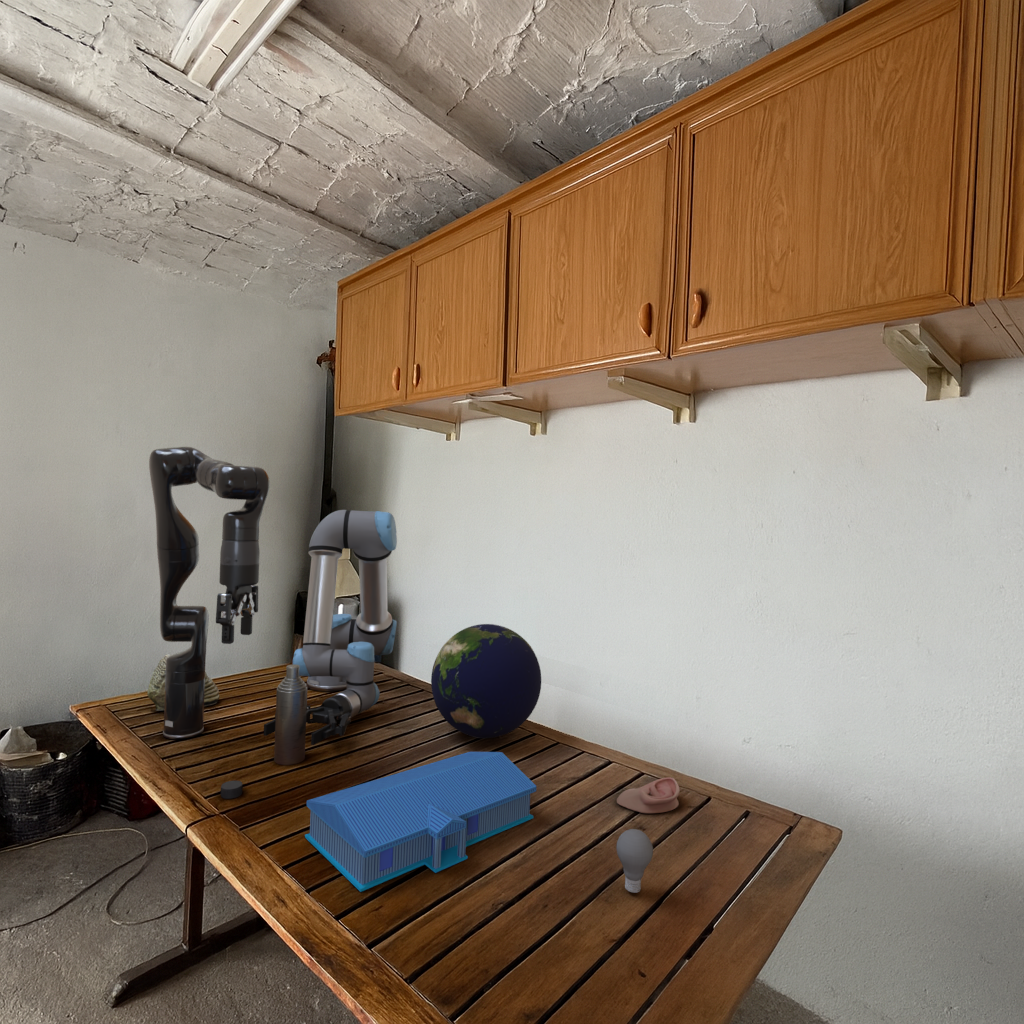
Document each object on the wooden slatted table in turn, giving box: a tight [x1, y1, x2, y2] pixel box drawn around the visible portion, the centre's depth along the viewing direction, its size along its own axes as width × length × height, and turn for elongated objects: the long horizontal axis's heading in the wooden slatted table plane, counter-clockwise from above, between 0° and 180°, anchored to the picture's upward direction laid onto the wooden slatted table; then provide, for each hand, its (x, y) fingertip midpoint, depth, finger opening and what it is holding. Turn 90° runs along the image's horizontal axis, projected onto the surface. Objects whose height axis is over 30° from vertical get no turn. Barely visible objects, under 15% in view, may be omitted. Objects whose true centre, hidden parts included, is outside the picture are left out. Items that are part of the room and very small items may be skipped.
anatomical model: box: [616, 776, 681, 814], centre depth 138 cm, size 13×4×12 cm
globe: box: [430, 623, 542, 739], centre depth 172 cm, size 30×30×30 cm
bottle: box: [273, 663, 308, 766], centre depth 152 cm, size 7×7×22 cm
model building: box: [304, 751, 538, 893], centre depth 122 cm, size 39×24×10 cm, turn 132°
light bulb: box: [615, 828, 654, 894], centre depth 106 cm, size 6×6×10 cm
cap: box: [220, 780, 243, 800], centre depth 133 cm, size 4×4×2 cm
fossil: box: [147, 654, 221, 712], centre depth 185 cm, size 9×18×15 cm, turn 132°
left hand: (237, 638), depth 132 cm, fingers open, 8 cm apart
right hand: (288, 734), depth 151 cm, fingers open, 13 cm apart
